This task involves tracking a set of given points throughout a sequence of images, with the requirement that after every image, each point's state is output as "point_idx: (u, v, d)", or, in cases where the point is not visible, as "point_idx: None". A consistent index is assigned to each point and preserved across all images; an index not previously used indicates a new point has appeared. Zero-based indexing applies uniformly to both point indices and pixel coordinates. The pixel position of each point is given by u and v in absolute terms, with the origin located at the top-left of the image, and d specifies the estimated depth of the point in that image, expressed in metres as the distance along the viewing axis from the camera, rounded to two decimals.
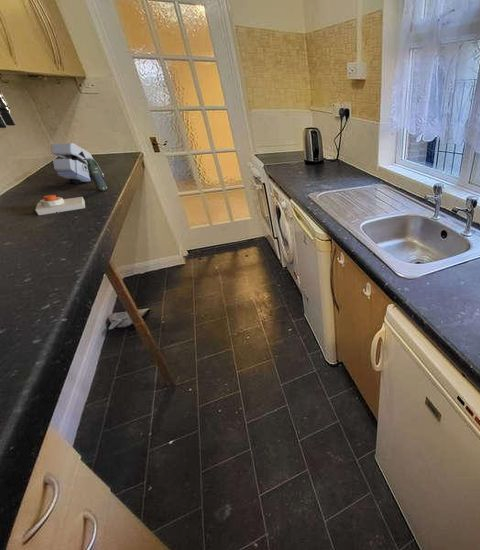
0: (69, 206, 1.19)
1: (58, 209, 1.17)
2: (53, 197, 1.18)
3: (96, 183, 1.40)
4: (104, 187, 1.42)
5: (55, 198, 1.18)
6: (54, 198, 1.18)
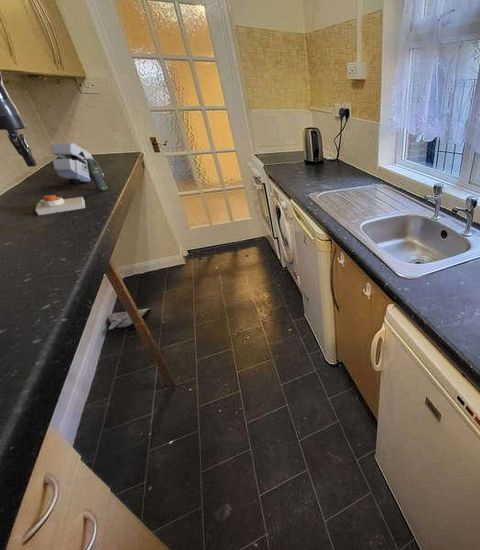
0: (69, 206, 1.19)
1: (58, 209, 1.17)
2: (53, 197, 1.18)
3: (96, 183, 1.40)
4: (104, 187, 1.42)
5: (55, 198, 1.18)
6: (54, 198, 1.18)
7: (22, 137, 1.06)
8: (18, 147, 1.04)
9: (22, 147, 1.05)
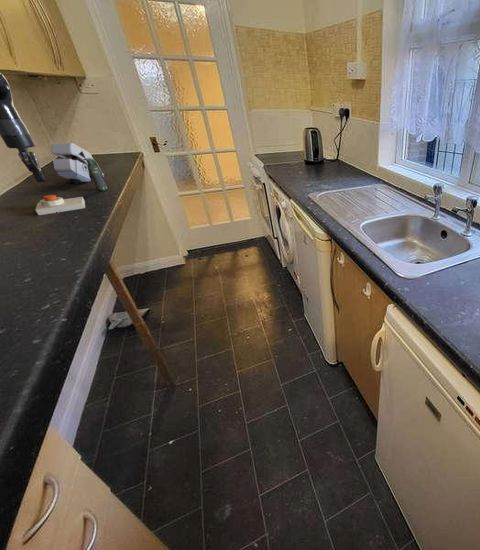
0: (69, 206, 1.19)
1: (58, 209, 1.17)
2: (53, 197, 1.18)
3: (96, 183, 1.40)
4: (104, 187, 1.42)
5: (55, 198, 1.18)
6: (54, 198, 1.18)
7: (32, 155, 1.09)
8: (29, 165, 1.08)
9: (33, 165, 1.09)
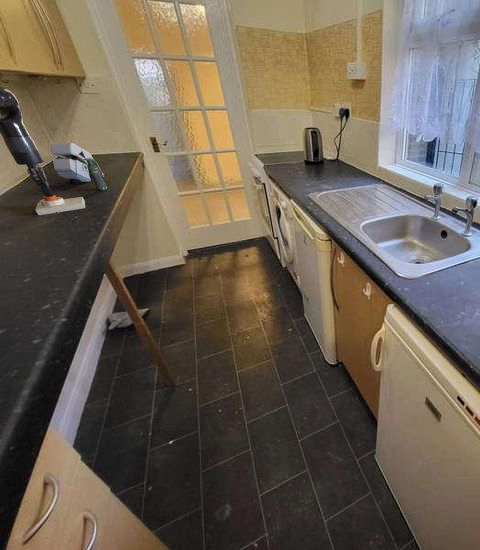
0: (69, 206, 1.19)
1: (58, 209, 1.17)
2: (53, 197, 1.18)
3: (96, 183, 1.40)
4: (104, 187, 1.42)
5: (55, 198, 1.18)
6: (54, 198, 1.18)
7: (40, 170, 1.12)
8: (38, 181, 1.11)
9: (41, 181, 1.12)
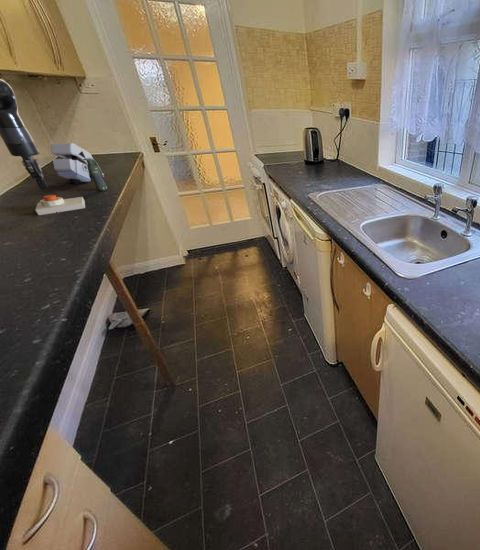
0: (69, 206, 1.19)
1: (58, 209, 1.17)
2: (53, 197, 1.18)
3: (96, 183, 1.40)
4: (104, 187, 1.42)
5: (55, 198, 1.18)
6: (54, 198, 1.18)
7: (35, 162, 1.11)
8: (32, 173, 1.09)
9: (36, 173, 1.10)
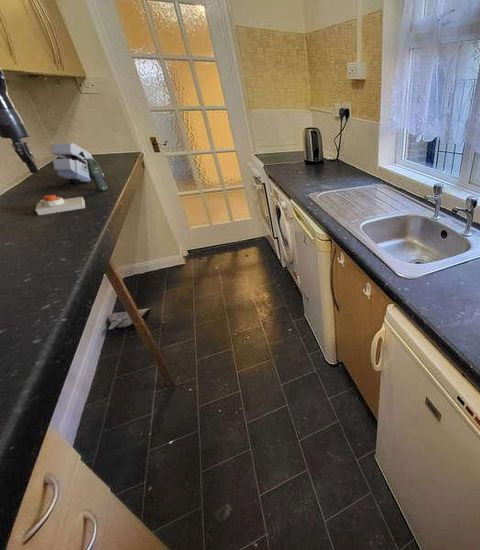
0: (69, 206, 1.19)
1: (58, 209, 1.17)
2: (53, 197, 1.18)
3: (96, 183, 1.40)
4: (104, 187, 1.42)
5: (55, 198, 1.18)
6: (54, 198, 1.18)
7: (26, 145, 1.09)
8: (22, 156, 1.07)
9: (26, 156, 1.08)
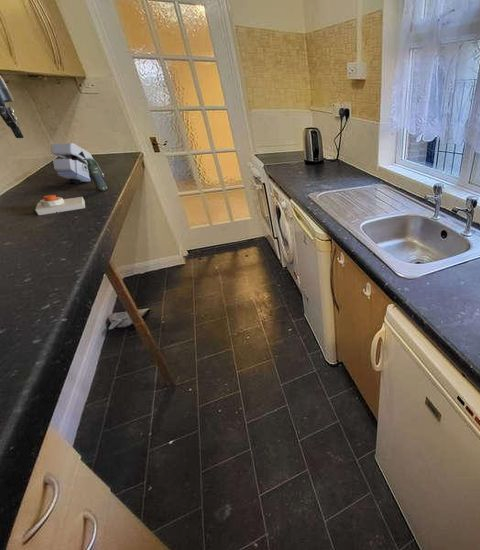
0: (69, 206, 1.19)
1: (58, 209, 1.17)
2: (53, 197, 1.18)
3: (96, 183, 1.40)
4: (104, 187, 1.42)
5: (55, 198, 1.18)
6: (54, 198, 1.18)
7: (10, 109, 1.13)
8: (7, 119, 1.11)
9: (10, 119, 1.12)
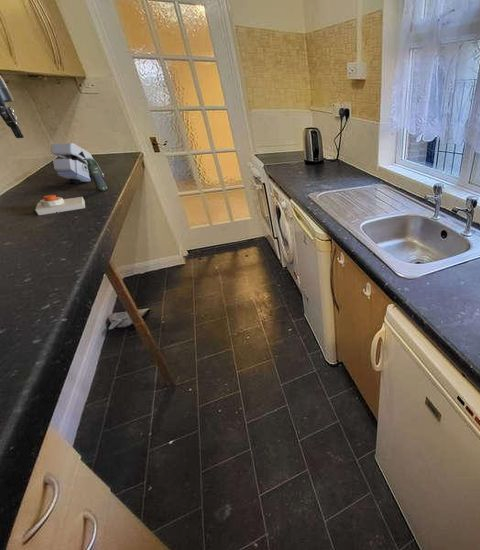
0: (69, 206, 1.19)
1: (58, 209, 1.17)
2: (53, 197, 1.18)
3: (96, 183, 1.40)
4: (104, 187, 1.42)
5: (55, 198, 1.18)
6: (54, 198, 1.18)
7: (10, 109, 1.13)
8: (7, 119, 1.11)
9: (10, 119, 1.12)
